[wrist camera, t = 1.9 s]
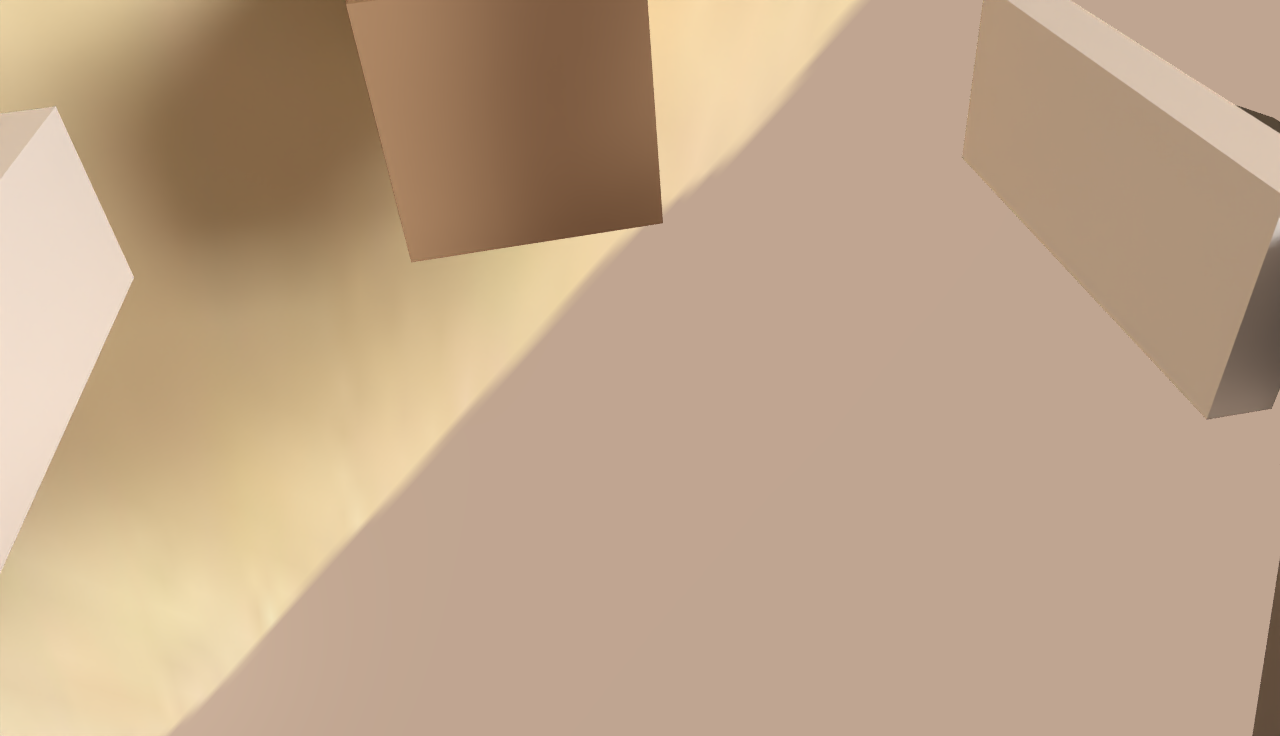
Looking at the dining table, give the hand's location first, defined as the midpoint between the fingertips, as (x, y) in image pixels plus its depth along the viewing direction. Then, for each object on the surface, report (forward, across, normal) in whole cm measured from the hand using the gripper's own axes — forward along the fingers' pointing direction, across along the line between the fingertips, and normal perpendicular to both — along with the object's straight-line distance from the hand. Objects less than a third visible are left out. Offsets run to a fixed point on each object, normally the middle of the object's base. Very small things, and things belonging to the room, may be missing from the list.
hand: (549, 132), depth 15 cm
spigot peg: (+9, -1, 0) cm, 9 cm away
